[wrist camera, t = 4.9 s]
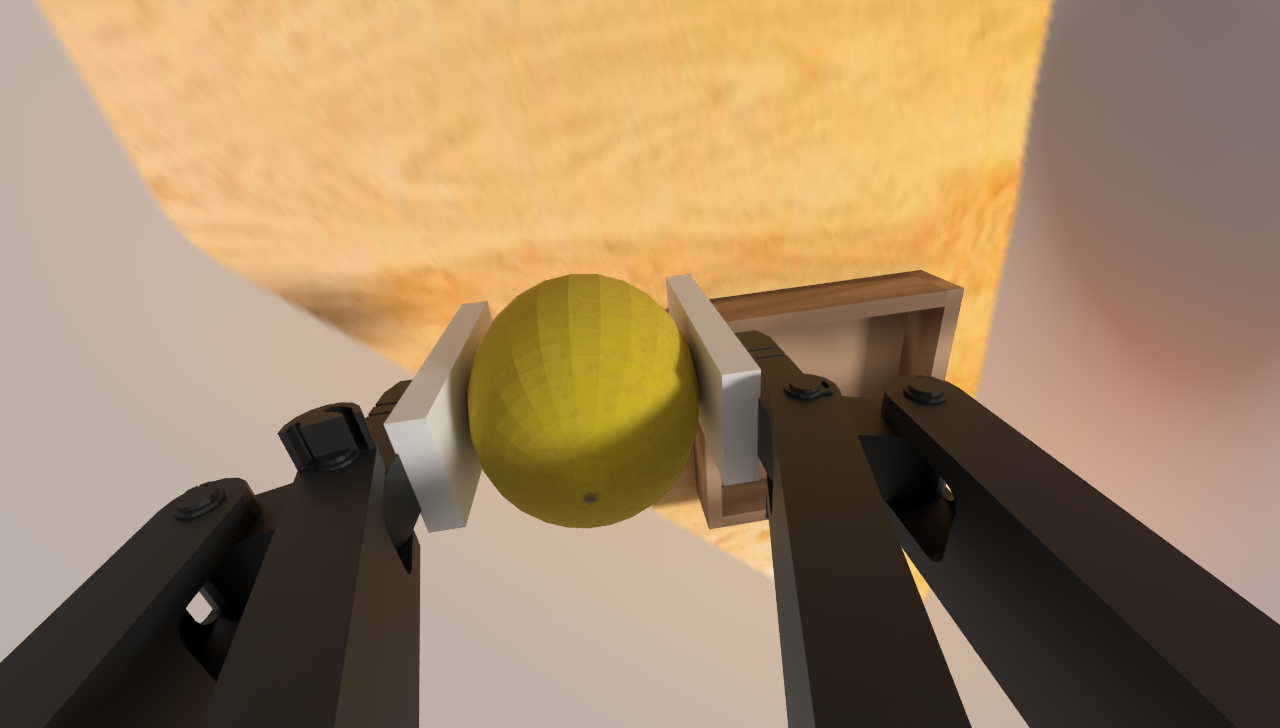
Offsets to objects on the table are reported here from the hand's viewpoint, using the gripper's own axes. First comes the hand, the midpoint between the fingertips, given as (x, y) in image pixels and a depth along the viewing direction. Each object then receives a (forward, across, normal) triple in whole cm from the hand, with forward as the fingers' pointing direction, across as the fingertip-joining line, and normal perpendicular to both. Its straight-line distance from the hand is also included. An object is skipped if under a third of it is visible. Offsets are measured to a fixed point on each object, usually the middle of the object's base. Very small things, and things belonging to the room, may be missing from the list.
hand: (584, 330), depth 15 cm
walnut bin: (+15, +14, -13) cm, 24 cm away
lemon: (+1, 0, 0) cm, 1 cm away
